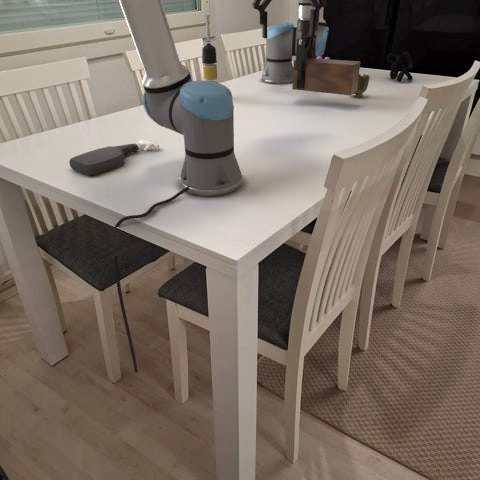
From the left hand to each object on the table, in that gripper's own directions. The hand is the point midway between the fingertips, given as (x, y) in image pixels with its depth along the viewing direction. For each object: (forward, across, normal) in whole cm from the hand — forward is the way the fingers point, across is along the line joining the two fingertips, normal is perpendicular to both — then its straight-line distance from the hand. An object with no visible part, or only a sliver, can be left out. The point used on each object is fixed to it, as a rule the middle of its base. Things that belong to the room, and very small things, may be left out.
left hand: (288, 36), depth 124 cm
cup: (+28, -40, -38) cm, 62 cm away
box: (+23, -23, -31) cm, 45 cm away
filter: (+28, +17, -50) cm, 60 cm away
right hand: (+22, -17, -36) cm, 46 cm away
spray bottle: (+28, +51, +9) cm, 59 cm away
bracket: (+28, -46, -90) cm, 104 cm away
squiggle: (+28, -70, -61) cm, 97 cm away
